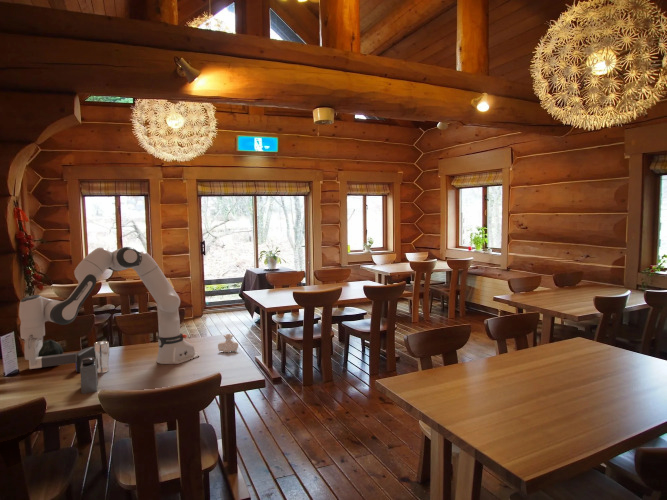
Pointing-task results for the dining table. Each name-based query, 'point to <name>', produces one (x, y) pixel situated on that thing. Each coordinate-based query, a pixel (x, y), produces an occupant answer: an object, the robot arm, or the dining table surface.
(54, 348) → the squash
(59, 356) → the plug
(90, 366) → the block
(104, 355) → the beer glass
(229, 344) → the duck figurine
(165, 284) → the robot arm
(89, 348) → the leaning round-cornered charcoal block
